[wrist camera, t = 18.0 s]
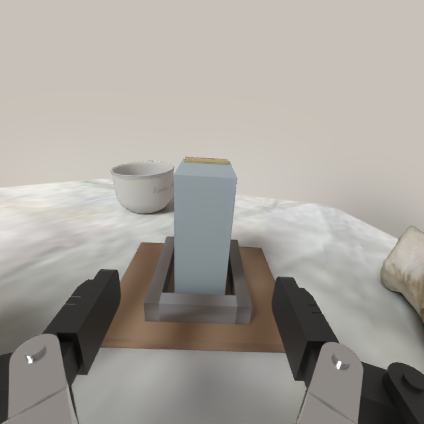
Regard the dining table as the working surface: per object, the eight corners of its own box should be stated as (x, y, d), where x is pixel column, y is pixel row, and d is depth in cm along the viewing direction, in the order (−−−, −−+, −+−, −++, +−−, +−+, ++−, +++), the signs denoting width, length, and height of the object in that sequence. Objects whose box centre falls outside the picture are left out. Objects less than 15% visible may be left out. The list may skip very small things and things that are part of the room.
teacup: (164, 222, 38) (163, 175, 35) (103, 216, 39) (96, 169, 36) (183, 195, 51) (183, 160, 48) (136, 191, 52) (134, 156, 49)
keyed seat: (92, 346, 18) (86, 315, 16) (141, 248, 30) (140, 226, 29) (296, 353, 18) (305, 323, 17) (260, 254, 31) (263, 232, 30)
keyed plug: (174, 303, 21) (173, 171, 16) (182, 261, 27) (183, 156, 22) (223, 305, 21) (237, 175, 16) (220, 262, 27) (229, 159, 22)
